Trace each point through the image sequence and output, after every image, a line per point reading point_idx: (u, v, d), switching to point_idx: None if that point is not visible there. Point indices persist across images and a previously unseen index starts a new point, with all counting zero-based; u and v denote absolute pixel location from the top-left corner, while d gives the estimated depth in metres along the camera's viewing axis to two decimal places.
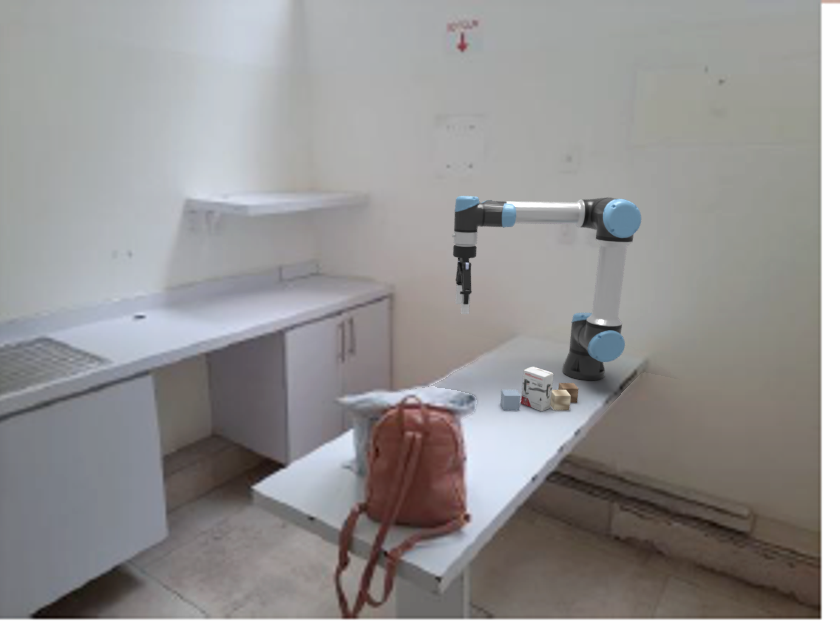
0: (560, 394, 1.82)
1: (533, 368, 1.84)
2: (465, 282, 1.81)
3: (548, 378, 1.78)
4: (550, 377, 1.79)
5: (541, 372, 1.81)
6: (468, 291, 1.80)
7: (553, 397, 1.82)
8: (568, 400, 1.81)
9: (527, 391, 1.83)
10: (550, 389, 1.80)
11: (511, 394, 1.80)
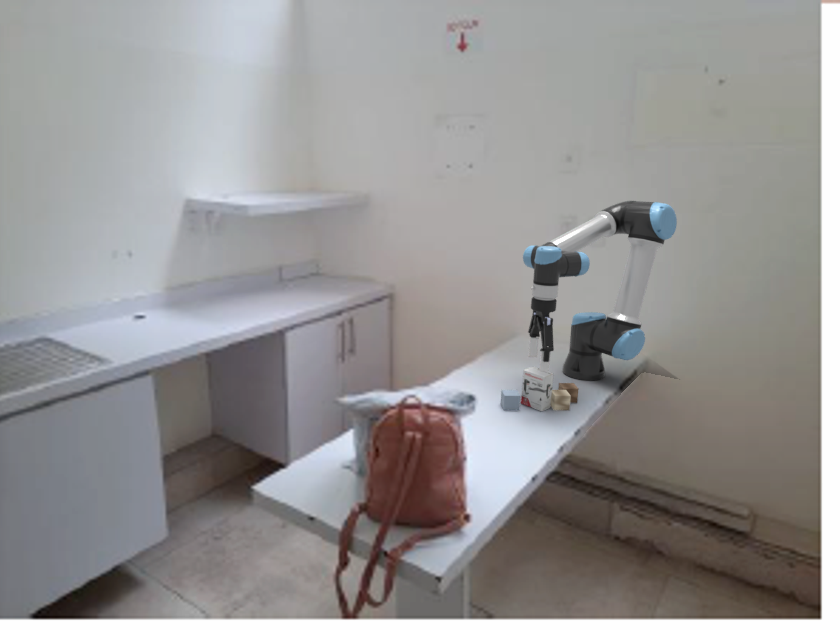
0: (560, 394, 1.82)
1: (533, 368, 1.84)
2: (547, 339, 1.70)
3: (548, 378, 1.78)
4: (550, 377, 1.79)
5: (541, 372, 1.81)
6: (550, 349, 1.69)
7: (553, 397, 1.82)
8: (568, 400, 1.81)
9: (527, 391, 1.83)
10: (550, 389, 1.80)
11: (511, 394, 1.80)
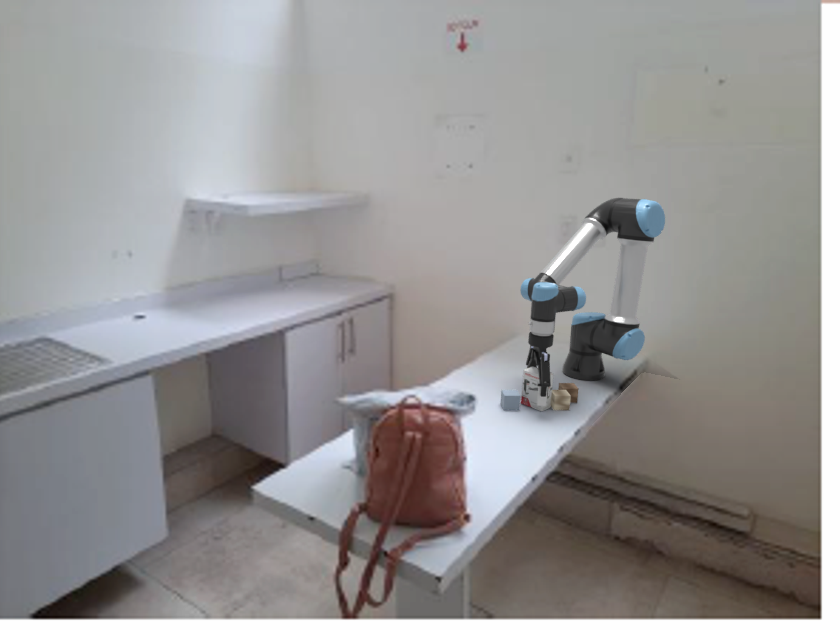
0: (560, 394, 1.82)
1: (533, 368, 1.84)
2: (544, 375, 1.72)
3: None
4: (550, 377, 1.79)
5: None
6: (547, 384, 1.72)
7: (553, 397, 1.82)
8: (568, 400, 1.81)
9: (527, 391, 1.83)
10: (550, 389, 1.80)
11: (511, 394, 1.80)
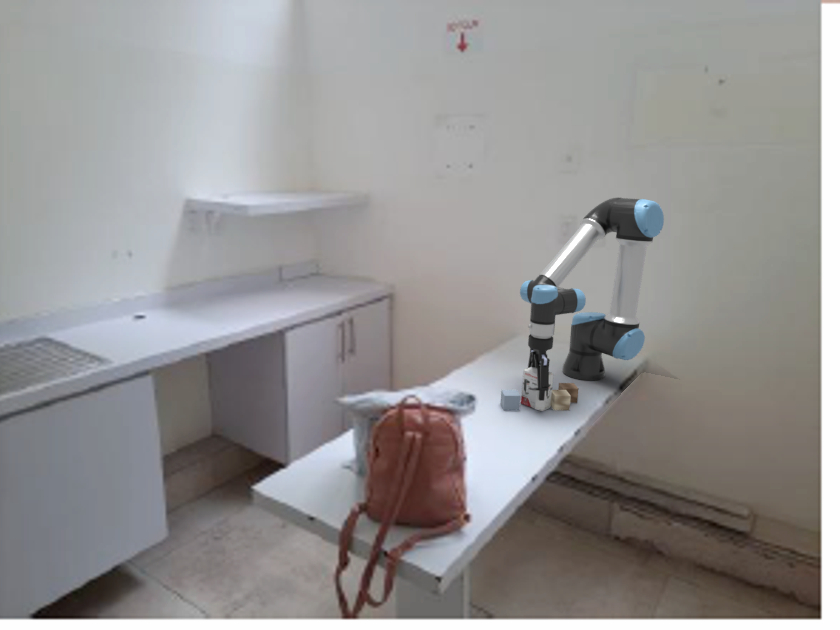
0: (560, 394, 1.82)
1: (533, 368, 1.84)
2: (542, 379, 1.74)
3: None
4: (550, 377, 1.79)
5: None
6: (545, 388, 1.74)
7: (553, 397, 1.82)
8: (568, 400, 1.81)
9: (527, 391, 1.83)
10: (550, 388, 1.80)
11: (511, 394, 1.80)
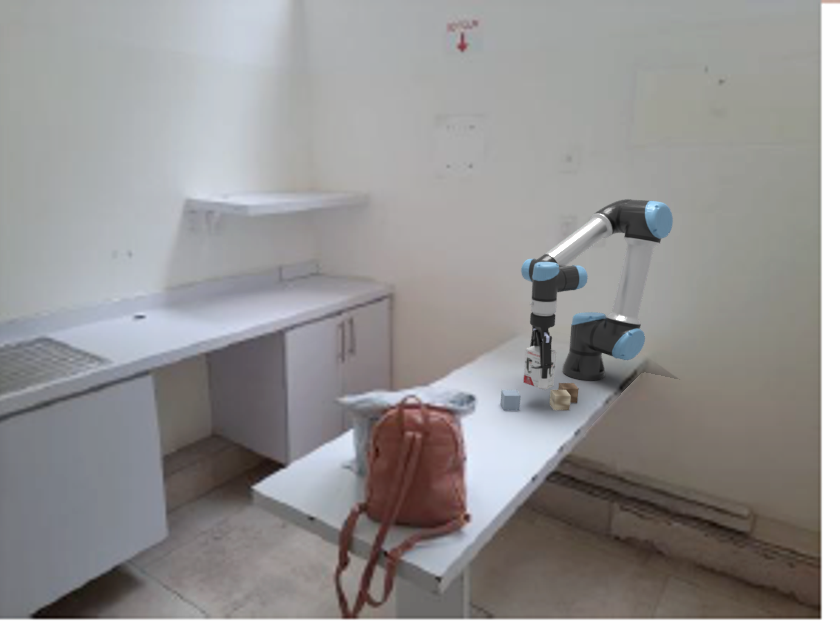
0: (560, 394, 1.82)
1: (535, 347, 1.82)
2: (545, 357, 1.73)
3: (551, 356, 1.77)
4: (553, 355, 1.78)
5: None
6: (548, 366, 1.73)
7: (553, 397, 1.82)
8: (568, 400, 1.81)
9: (529, 370, 1.81)
10: (552, 367, 1.79)
11: (511, 394, 1.80)
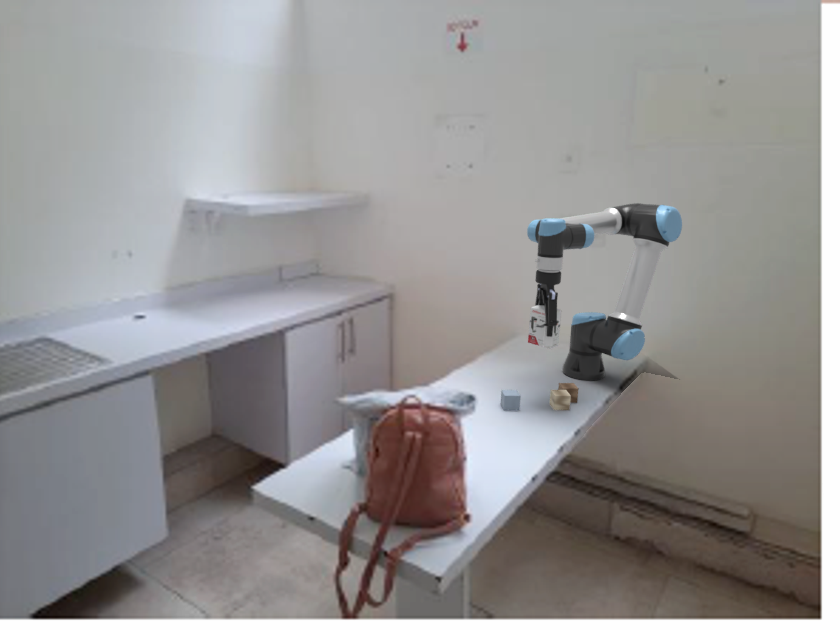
0: (560, 394, 1.82)
1: (540, 306, 1.80)
2: (551, 314, 1.70)
3: None
4: (558, 313, 1.75)
5: None
6: (553, 323, 1.70)
7: (553, 397, 1.82)
8: (568, 400, 1.81)
9: (534, 329, 1.79)
10: (558, 325, 1.76)
11: (511, 394, 1.80)
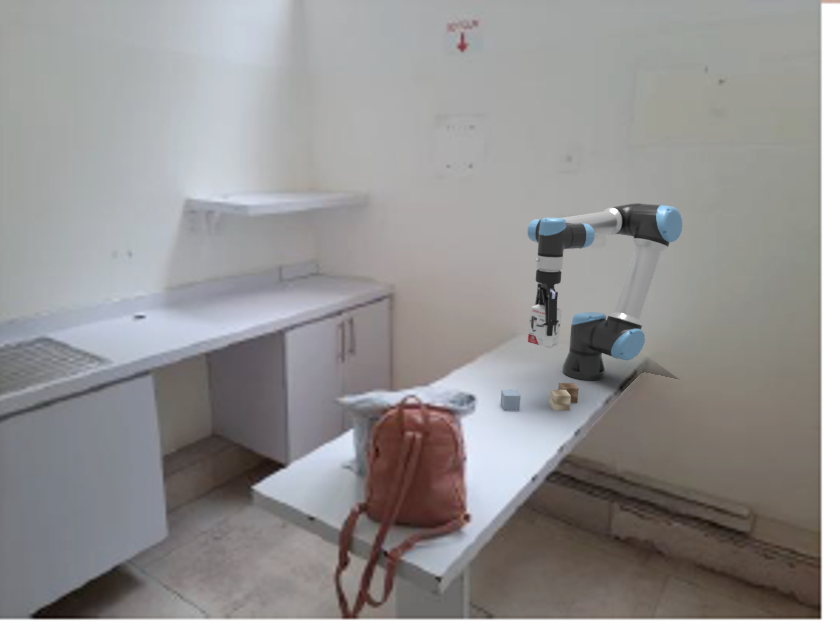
0: (560, 394, 1.82)
1: (540, 305, 1.80)
2: (551, 313, 1.70)
3: None
4: (558, 313, 1.75)
5: None
6: (553, 322, 1.70)
7: (553, 397, 1.82)
8: (568, 400, 1.81)
9: (534, 329, 1.79)
10: (558, 325, 1.76)
11: (511, 394, 1.80)
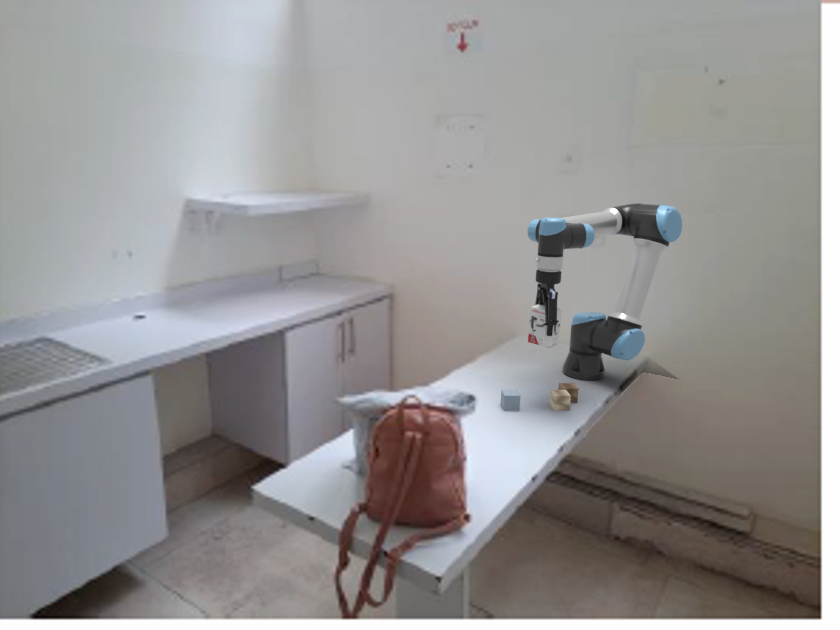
0: (560, 394, 1.82)
1: (540, 305, 1.80)
2: (551, 313, 1.70)
3: None
4: (558, 313, 1.75)
5: None
6: (553, 322, 1.70)
7: (553, 397, 1.82)
8: (568, 400, 1.81)
9: (534, 329, 1.79)
10: (558, 325, 1.76)
11: (511, 394, 1.80)
